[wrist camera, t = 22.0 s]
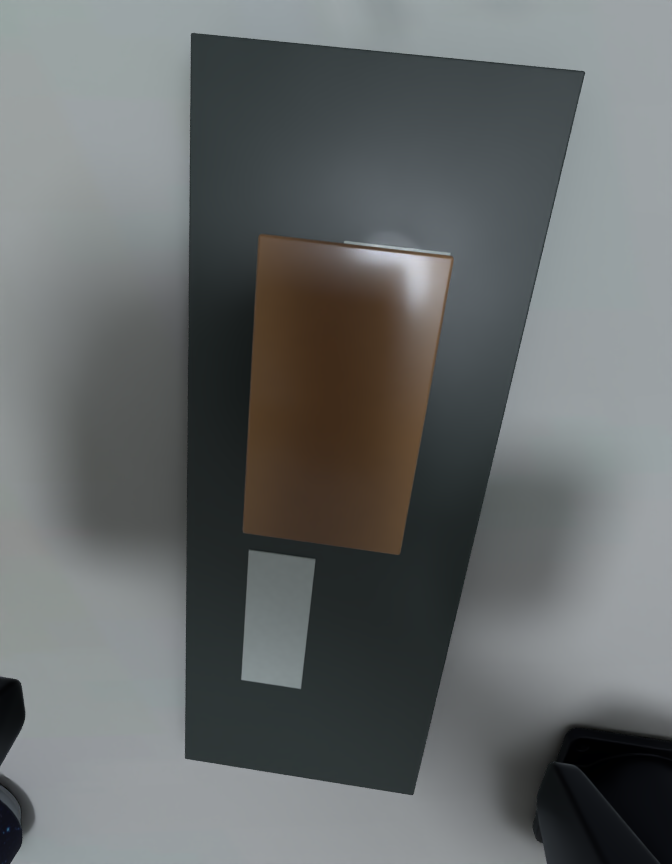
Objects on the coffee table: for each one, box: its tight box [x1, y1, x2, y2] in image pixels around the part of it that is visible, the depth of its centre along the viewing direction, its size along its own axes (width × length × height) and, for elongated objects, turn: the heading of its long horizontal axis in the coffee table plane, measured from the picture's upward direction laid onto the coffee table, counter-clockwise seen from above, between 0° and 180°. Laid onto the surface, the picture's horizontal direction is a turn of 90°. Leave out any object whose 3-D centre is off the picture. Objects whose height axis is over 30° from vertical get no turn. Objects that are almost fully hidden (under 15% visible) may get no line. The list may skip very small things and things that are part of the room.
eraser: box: [243, 234, 454, 555], centre depth 12 cm, size 4×7×4 cm, turn 173°
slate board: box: [185, 33, 585, 795], centre depth 16 cm, size 10×26×1 cm, turn 174°
